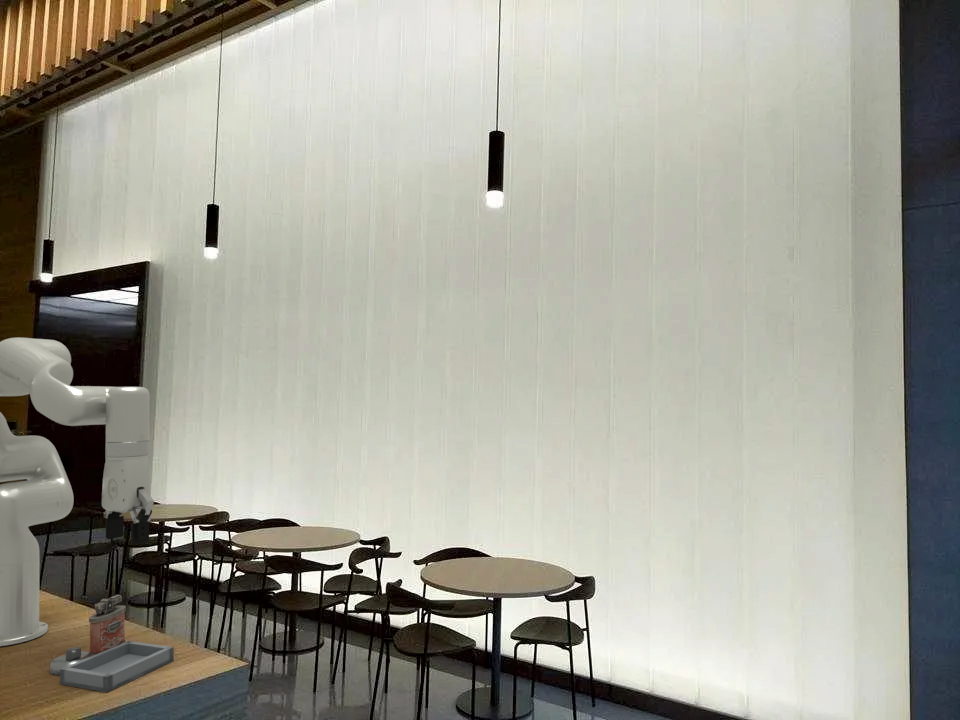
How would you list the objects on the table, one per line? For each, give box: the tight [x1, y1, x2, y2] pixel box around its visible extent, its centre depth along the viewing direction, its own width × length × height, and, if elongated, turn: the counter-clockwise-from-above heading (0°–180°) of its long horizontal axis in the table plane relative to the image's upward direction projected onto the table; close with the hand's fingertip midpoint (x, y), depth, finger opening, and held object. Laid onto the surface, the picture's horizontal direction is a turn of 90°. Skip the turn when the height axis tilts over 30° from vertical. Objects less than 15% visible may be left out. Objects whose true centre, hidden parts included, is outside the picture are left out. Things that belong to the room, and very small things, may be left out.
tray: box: [59, 640, 175, 693], centre depth 121 cm, size 11×14×2 cm
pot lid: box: [49, 646, 95, 677], centre depth 124 cm, size 7×7×3 cm
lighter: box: [88, 594, 127, 655], centre depth 132 cm, size 8×3×10 cm, turn 168°
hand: (127, 540), depth 131 cm, fingers open, 9 cm apart
